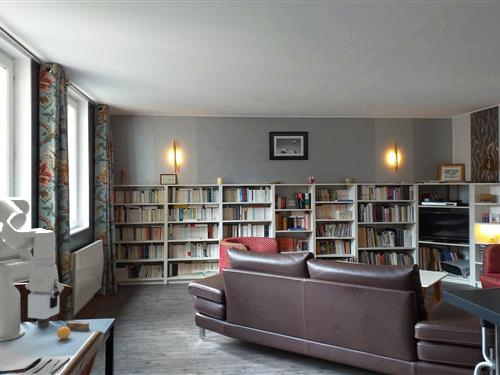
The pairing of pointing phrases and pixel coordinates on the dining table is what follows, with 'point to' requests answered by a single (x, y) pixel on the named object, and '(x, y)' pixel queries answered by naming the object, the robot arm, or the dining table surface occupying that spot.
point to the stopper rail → (77, 325)
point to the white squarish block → (41, 305)
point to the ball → (63, 332)
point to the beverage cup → (43, 322)
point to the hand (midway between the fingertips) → (44, 306)
